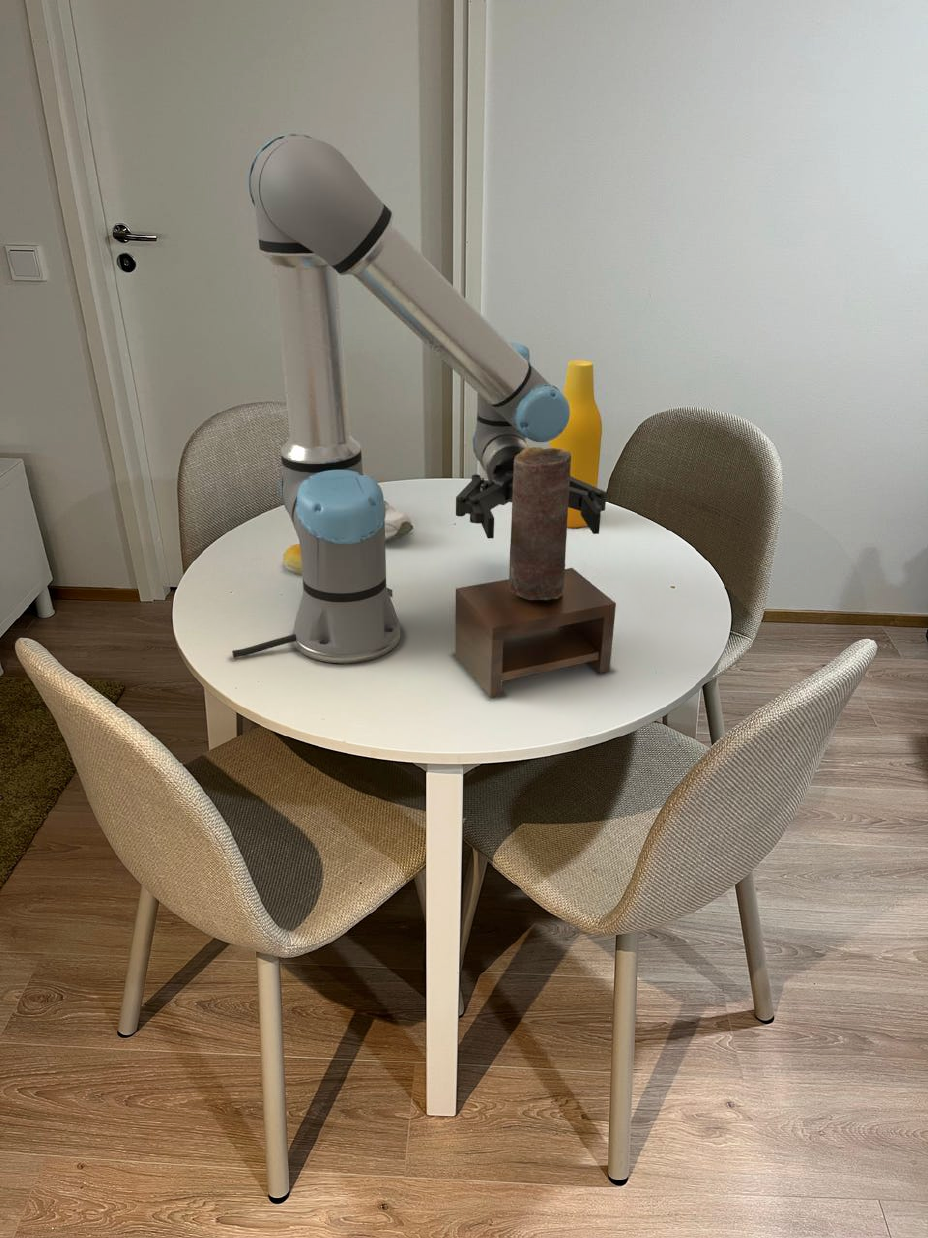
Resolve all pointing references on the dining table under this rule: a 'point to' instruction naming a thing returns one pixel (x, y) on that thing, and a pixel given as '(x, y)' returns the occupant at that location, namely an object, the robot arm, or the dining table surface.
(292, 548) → the bread roll
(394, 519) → the athletic shoe
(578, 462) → the beer bottle
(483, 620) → the shelf
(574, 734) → the dining table surface
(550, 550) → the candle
